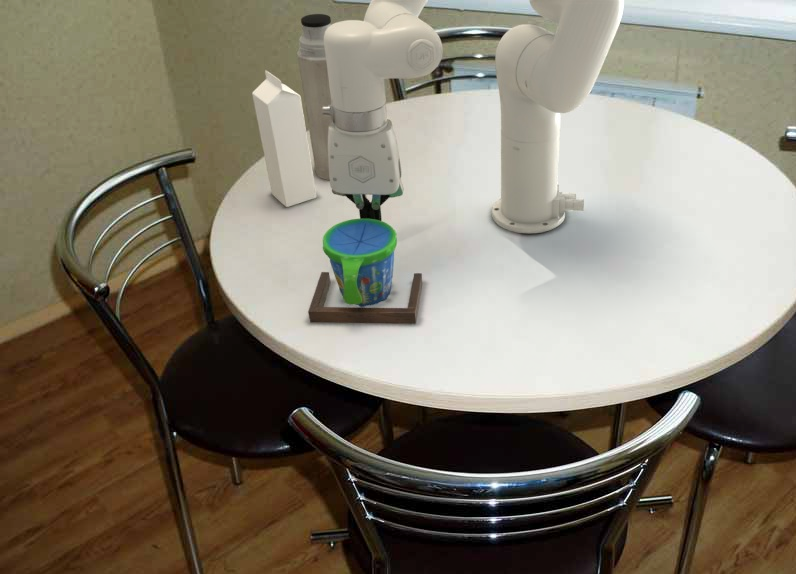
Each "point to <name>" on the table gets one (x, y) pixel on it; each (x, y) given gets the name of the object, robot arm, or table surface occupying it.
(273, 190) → the milk
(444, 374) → the table surface
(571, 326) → the table surface
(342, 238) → the snack cup
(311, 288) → the table surface
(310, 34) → the thermos bottle
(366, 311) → the bay
